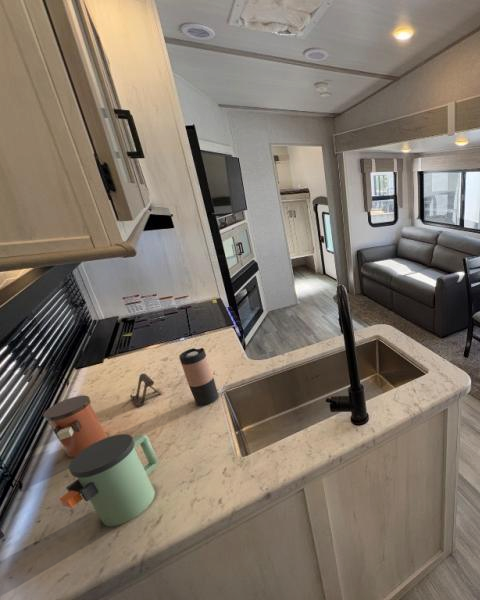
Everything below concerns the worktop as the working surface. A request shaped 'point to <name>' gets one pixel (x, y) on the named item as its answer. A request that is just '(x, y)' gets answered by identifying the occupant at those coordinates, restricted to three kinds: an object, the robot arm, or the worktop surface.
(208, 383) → the travel mug
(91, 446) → the sage jug
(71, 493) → the orange cube
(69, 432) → the button
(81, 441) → the terracotta jug
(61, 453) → the worktop surface
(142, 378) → the tablet stand
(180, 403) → the worktop surface
